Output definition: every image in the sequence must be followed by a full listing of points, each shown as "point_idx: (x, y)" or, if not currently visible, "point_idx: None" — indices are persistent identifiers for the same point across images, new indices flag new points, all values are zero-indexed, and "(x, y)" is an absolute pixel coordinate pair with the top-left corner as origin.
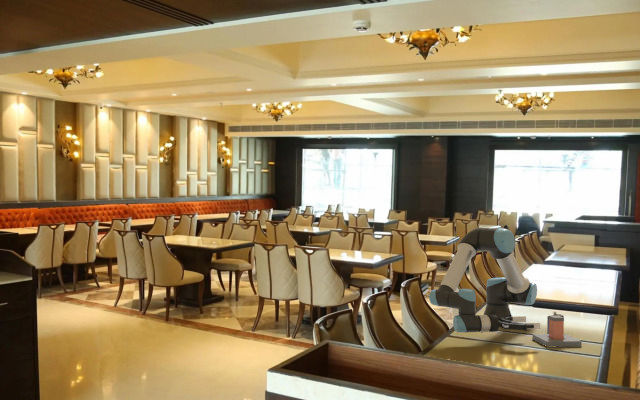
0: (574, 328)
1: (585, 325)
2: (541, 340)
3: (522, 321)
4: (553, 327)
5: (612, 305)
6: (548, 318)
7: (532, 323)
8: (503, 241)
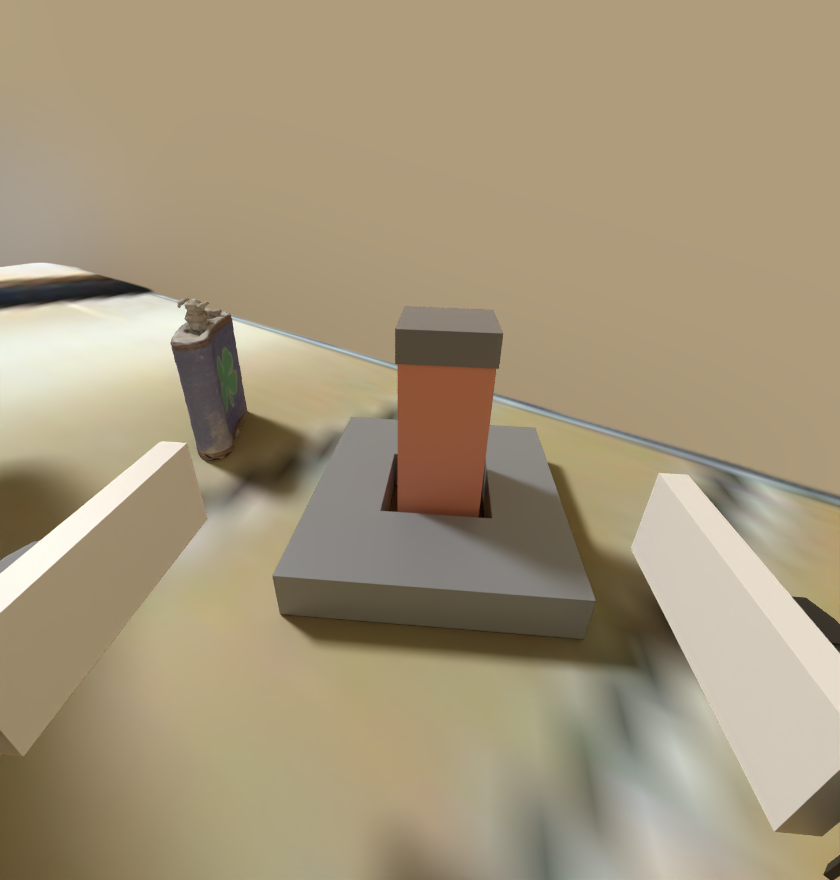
0: None
1: None
2: (469, 602)
3: (173, 552)
4: (474, 425)
5: (94, 273)
6: (193, 358)
7: (774, 588)
8: None
